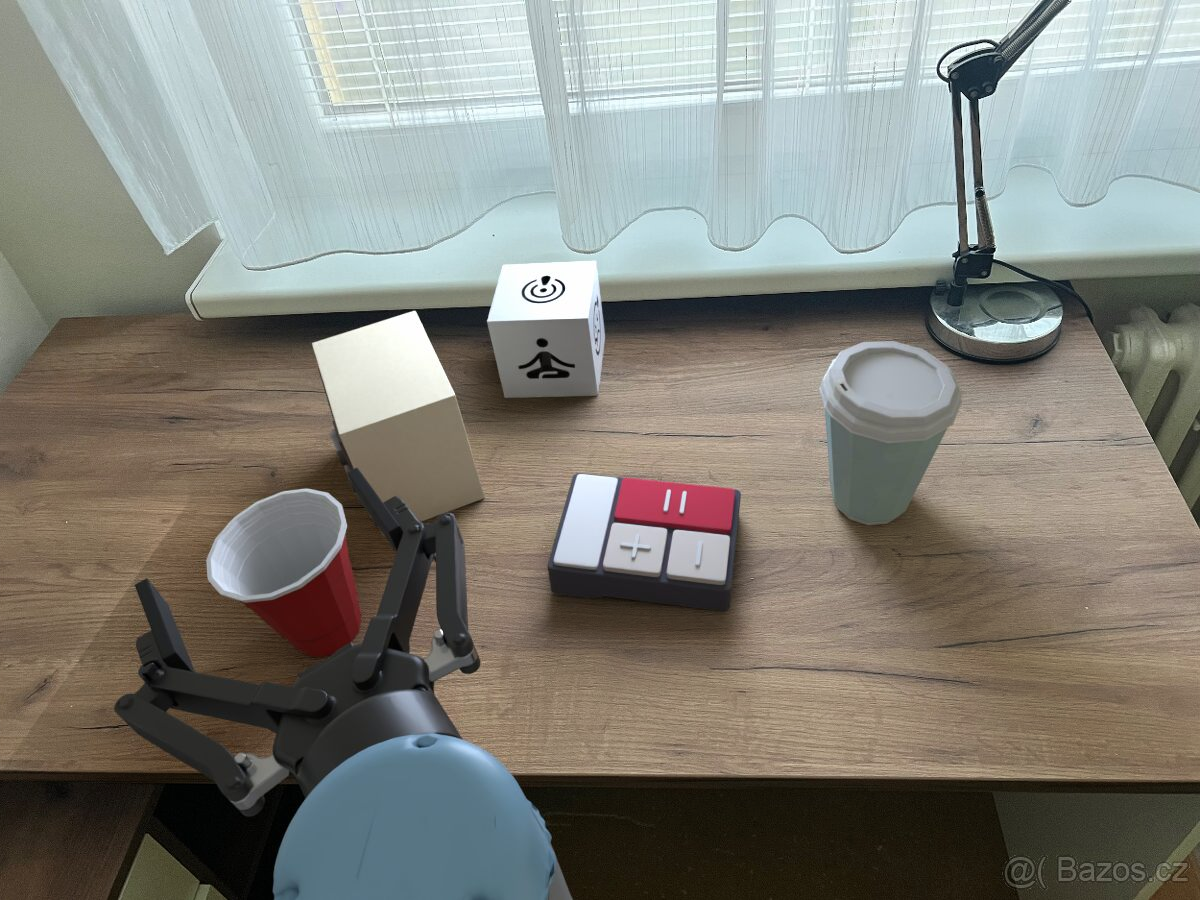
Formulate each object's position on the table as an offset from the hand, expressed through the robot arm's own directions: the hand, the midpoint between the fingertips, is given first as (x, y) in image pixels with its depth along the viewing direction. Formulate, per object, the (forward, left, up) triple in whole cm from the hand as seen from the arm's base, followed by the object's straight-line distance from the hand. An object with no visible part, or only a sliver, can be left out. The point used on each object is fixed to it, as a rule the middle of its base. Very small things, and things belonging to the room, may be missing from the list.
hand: (259, 536), depth 55 cm
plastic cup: (-1, +8, -20) cm, 22 cm away
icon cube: (+29, +31, -20) cm, 47 cm away
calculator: (+27, +3, -20) cm, 34 cm away
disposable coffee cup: (+47, -1, -20) cm, 51 cm away
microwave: (+11, +23, -20) cm, 32 cm away
